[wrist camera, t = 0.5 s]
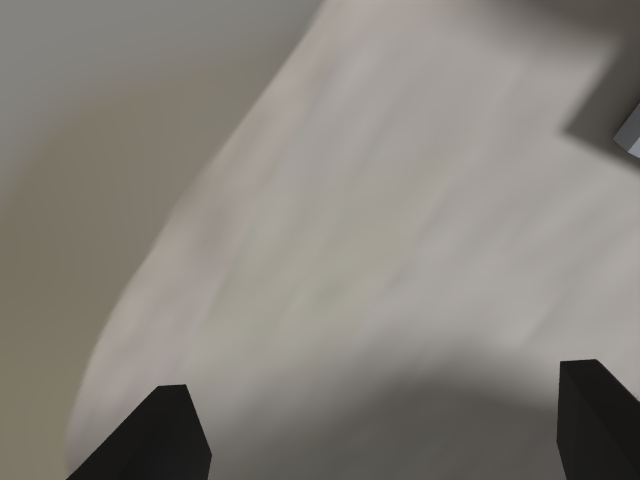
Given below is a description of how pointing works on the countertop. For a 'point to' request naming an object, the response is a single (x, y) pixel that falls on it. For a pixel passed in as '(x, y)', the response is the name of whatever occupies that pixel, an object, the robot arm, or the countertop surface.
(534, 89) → the countertop surface
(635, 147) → the stub
